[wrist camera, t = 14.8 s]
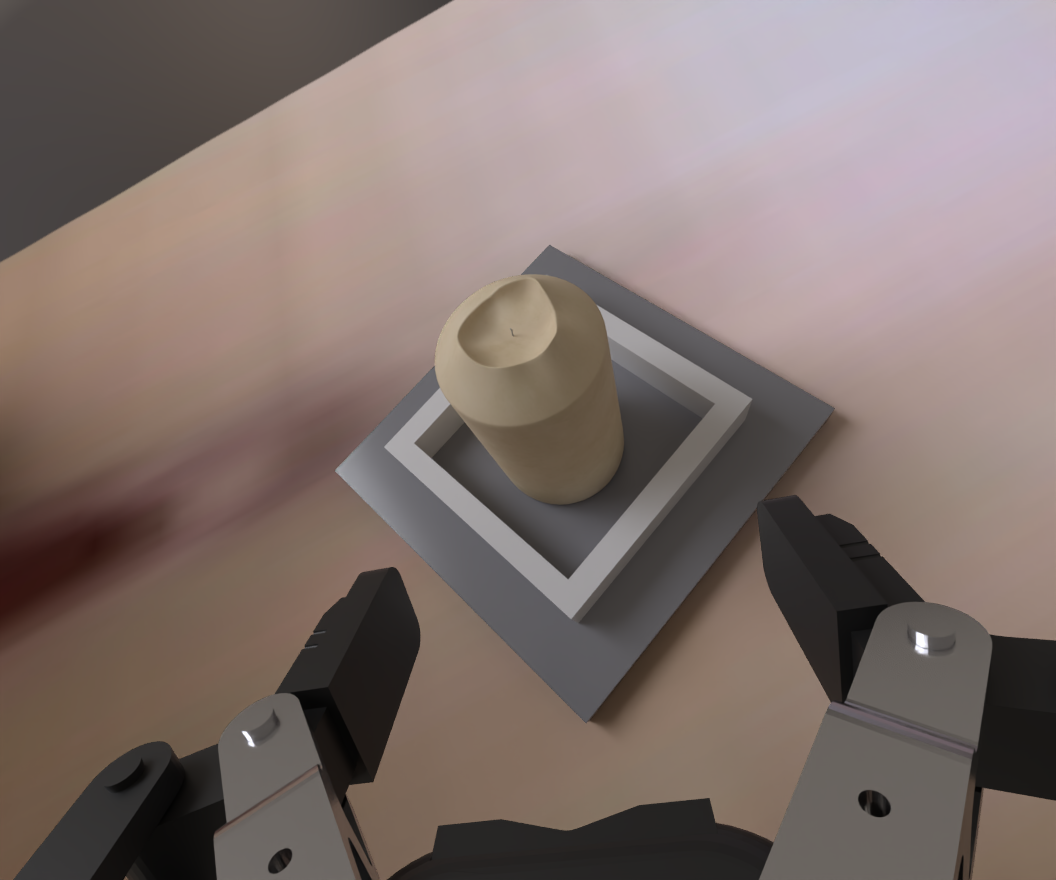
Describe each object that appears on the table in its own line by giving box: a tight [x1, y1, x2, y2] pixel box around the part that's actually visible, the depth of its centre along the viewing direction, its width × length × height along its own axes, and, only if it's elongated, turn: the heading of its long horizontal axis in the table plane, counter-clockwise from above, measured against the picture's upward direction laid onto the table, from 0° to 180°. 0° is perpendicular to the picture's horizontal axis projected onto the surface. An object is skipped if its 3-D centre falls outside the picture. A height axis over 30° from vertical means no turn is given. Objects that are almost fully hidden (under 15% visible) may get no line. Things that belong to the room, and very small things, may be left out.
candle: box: [435, 274, 624, 505], centre depth 20 cm, size 6×6×10 cm
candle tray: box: [335, 245, 835, 723], centre depth 25 cm, size 16×16×3 cm
